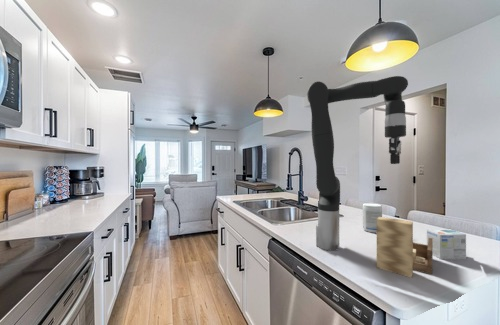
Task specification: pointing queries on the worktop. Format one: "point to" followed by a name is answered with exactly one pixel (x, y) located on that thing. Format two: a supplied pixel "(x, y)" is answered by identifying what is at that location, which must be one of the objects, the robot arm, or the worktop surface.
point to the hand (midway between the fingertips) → (395, 163)
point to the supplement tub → (371, 216)
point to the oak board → (395, 245)
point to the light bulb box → (448, 244)
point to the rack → (424, 256)
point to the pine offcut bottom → (419, 260)
